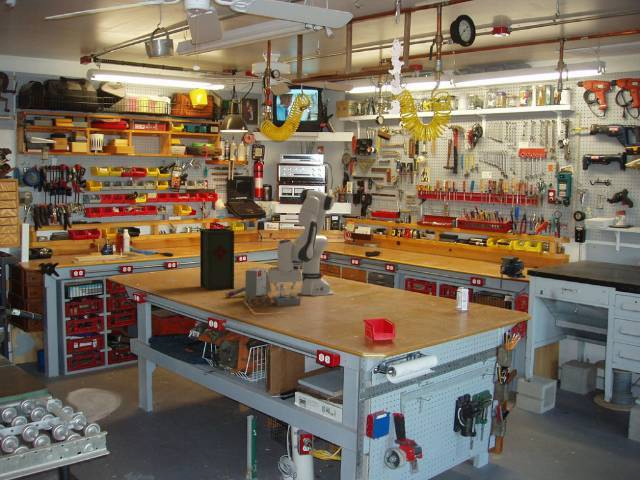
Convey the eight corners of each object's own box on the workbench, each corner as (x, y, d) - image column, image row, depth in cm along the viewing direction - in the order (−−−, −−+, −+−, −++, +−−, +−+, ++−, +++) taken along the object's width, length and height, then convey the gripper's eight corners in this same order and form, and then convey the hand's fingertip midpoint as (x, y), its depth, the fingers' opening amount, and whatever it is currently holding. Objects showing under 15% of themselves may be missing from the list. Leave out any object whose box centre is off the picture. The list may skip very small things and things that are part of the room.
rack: (267, 304, 396) (267, 294, 396) (270, 307, 387) (270, 298, 386) (247, 305, 393) (248, 295, 392) (250, 308, 383) (250, 298, 383)
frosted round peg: (284, 303, 396) (284, 283, 394) (285, 304, 392) (285, 284, 391) (279, 303, 395) (279, 284, 393) (280, 304, 392) (280, 285, 390)
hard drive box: (256, 303, 399) (256, 271, 397) (244, 302, 401) (244, 270, 399) (266, 298, 413) (266, 267, 411) (255, 297, 416) (255, 266, 414)
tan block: (294, 302, 398) (294, 292, 398) (296, 303, 393) (296, 293, 393) (290, 302, 397) (290, 292, 397) (292, 303, 393) (292, 294, 392)
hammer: (226, 285, 408) (267, 270, 423) (220, 283, 415) (261, 268, 430) (231, 308, 412) (271, 292, 427) (226, 305, 418) (266, 290, 433)
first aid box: (225, 284, 460) (226, 228, 456) (234, 289, 444) (234, 230, 439) (200, 286, 452) (200, 228, 448) (207, 290, 436) (207, 231, 431)
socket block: (296, 303, 401) (296, 295, 401) (300, 306, 392) (300, 298, 391) (273, 304, 397) (274, 296, 397) (277, 307, 388) (277, 299, 387)
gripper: (269, 268, 384) (269, 291, 386) (302, 266, 391) (302, 289, 392) (266, 266, 390) (266, 289, 392) (299, 265, 397) (299, 287, 398)
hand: (284, 289), depth 392 cm, fingers open, 8 cm apart
